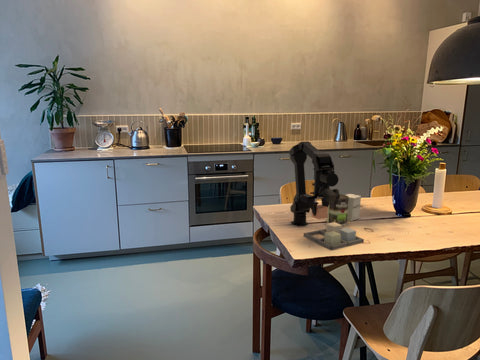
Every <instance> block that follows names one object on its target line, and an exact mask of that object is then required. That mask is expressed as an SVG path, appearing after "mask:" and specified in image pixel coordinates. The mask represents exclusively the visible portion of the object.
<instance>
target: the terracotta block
mask: <svg viewBox="0 0 480 360" xmlns="http://www.w3.org/2000/svg"><path fill="white" fill-rule="evenodd" d="M327 213H328V207H326V206H323V205H322V204H317V209H316V216H314V215H313V213H312V212H311V217H312V218H314V219H317V220H323V219H327Z"/></svg>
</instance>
